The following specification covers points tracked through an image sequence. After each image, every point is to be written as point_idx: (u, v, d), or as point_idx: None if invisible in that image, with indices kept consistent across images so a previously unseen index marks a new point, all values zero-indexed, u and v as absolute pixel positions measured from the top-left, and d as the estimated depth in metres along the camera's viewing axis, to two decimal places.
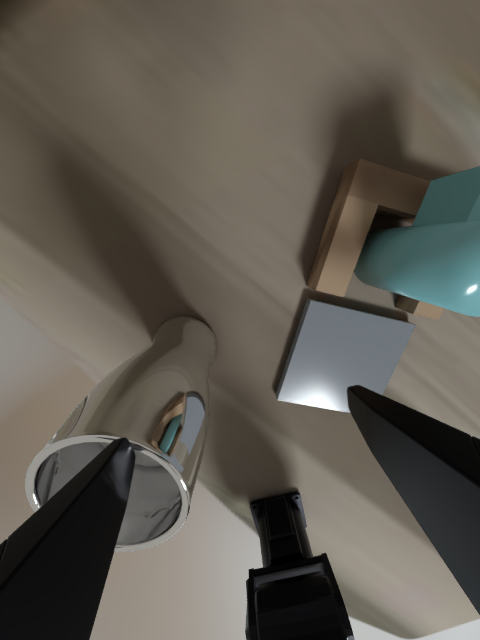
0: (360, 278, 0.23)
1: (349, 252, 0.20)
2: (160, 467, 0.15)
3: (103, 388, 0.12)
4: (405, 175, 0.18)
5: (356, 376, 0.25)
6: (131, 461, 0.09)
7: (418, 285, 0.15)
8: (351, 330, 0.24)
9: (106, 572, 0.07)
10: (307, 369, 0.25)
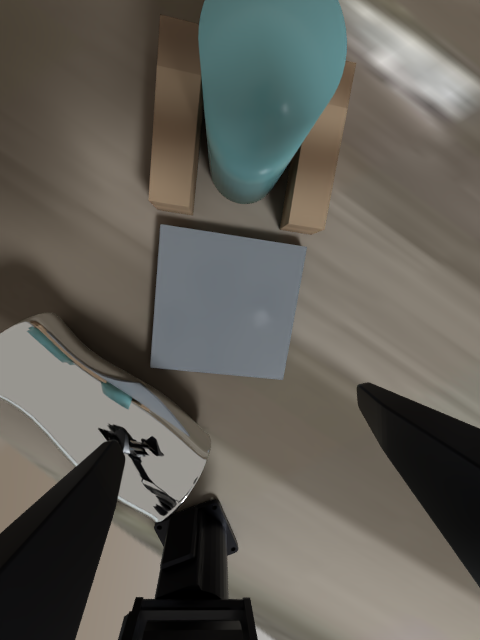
0: (222, 192, 0.18)
1: (180, 143, 0.15)
2: None
3: (143, 481, 0.15)
4: None
5: (247, 324, 0.20)
6: (121, 463, 0.09)
7: (212, 121, 0.10)
8: (224, 260, 0.18)
9: (93, 575, 0.07)
10: (180, 320, 0.19)
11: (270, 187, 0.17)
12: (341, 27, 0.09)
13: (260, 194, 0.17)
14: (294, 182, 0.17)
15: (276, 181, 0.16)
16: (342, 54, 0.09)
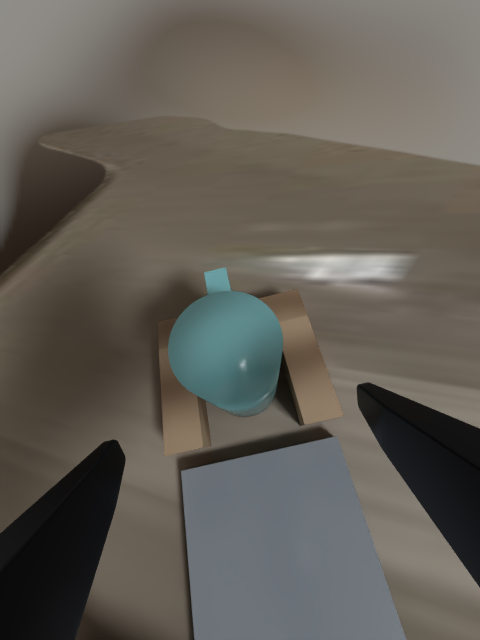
0: None
1: (184, 394, 0.18)
2: None
3: None
4: None
5: (316, 576, 0.14)
6: (121, 463, 0.09)
7: None
8: (255, 488, 0.16)
9: (92, 575, 0.07)
10: (226, 603, 0.14)
11: (272, 397, 0.17)
12: (267, 309, 0.11)
13: (266, 405, 0.17)
14: (292, 383, 0.17)
15: (275, 390, 0.17)
16: (276, 323, 0.11)
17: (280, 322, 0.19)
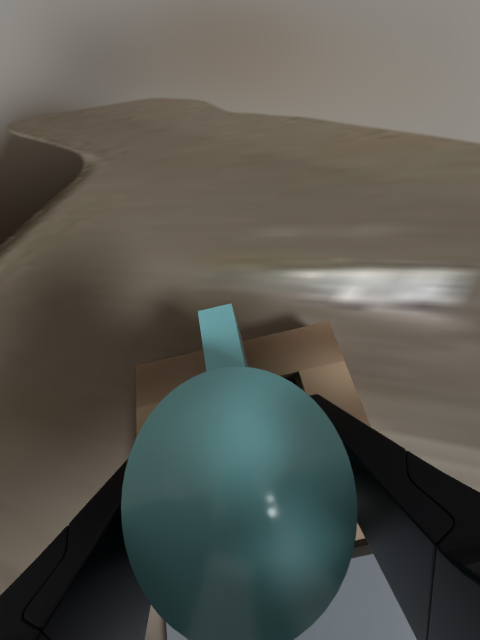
0: None
1: None
2: None
3: None
4: (196, 353, 0.15)
5: None
6: None
7: None
8: None
9: None
10: None
11: None
12: (317, 412, 0.06)
13: None
14: None
15: None
16: (337, 444, 0.06)
17: (306, 370, 0.14)
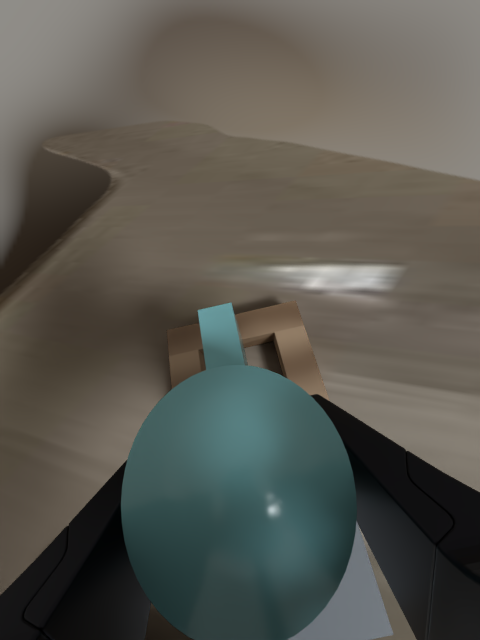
0: None
1: None
2: None
3: None
4: None
5: None
6: None
7: None
8: None
9: None
10: None
11: None
12: (316, 410, 0.06)
13: None
14: None
15: None
16: (336, 442, 0.06)
17: (279, 331, 0.21)
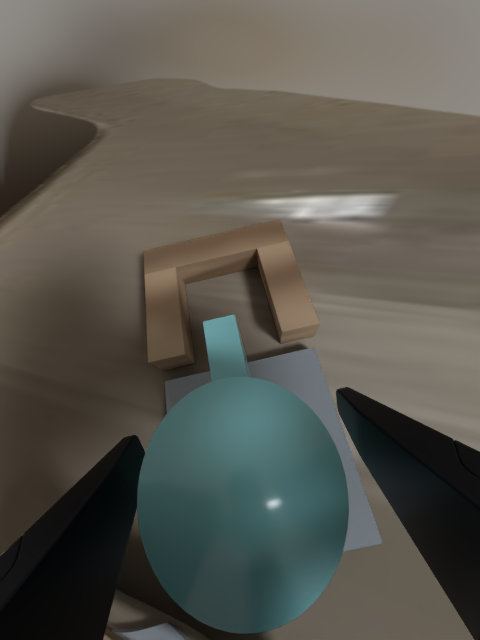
0: None
1: (168, 311, 0.18)
2: None
3: None
4: (186, 242, 0.21)
5: None
6: (141, 459, 0.09)
7: None
8: None
9: (119, 569, 0.07)
10: None
11: None
12: (313, 419, 0.06)
13: None
14: (272, 299, 0.18)
15: None
16: (331, 448, 0.06)
17: (262, 247, 0.20)
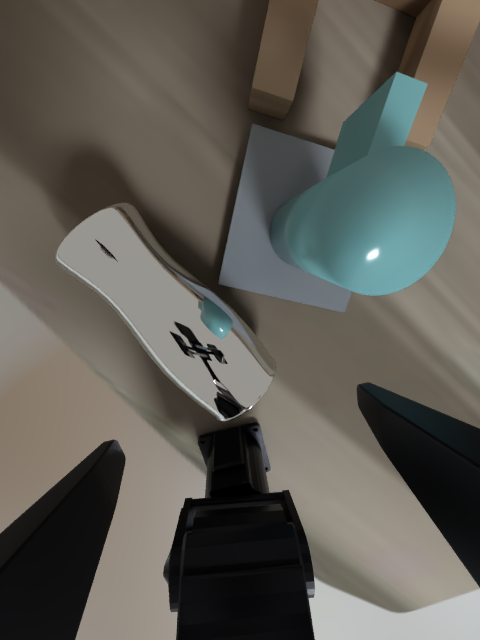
0: (279, 257, 0.19)
1: (297, 18, 0.14)
2: None
3: (226, 376, 0.16)
4: None
5: None
6: (121, 463, 0.09)
7: (306, 255, 0.11)
8: (311, 175, 0.17)
9: (92, 575, 0.07)
10: (255, 237, 0.18)
11: None
12: (451, 214, 0.09)
13: None
14: None
15: None
16: (446, 236, 0.09)
17: None
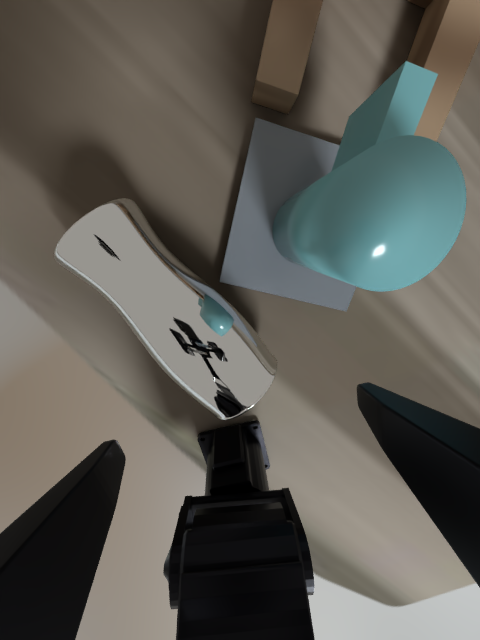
0: (281, 254, 0.18)
1: (303, 8, 0.13)
2: None
3: (227, 375, 0.15)
4: None
5: None
6: (121, 463, 0.09)
7: (310, 250, 0.11)
8: (315, 171, 0.17)
9: (92, 575, 0.07)
10: (257, 234, 0.18)
11: None
12: (461, 208, 0.09)
13: None
14: None
15: None
16: (455, 230, 0.09)
17: None
